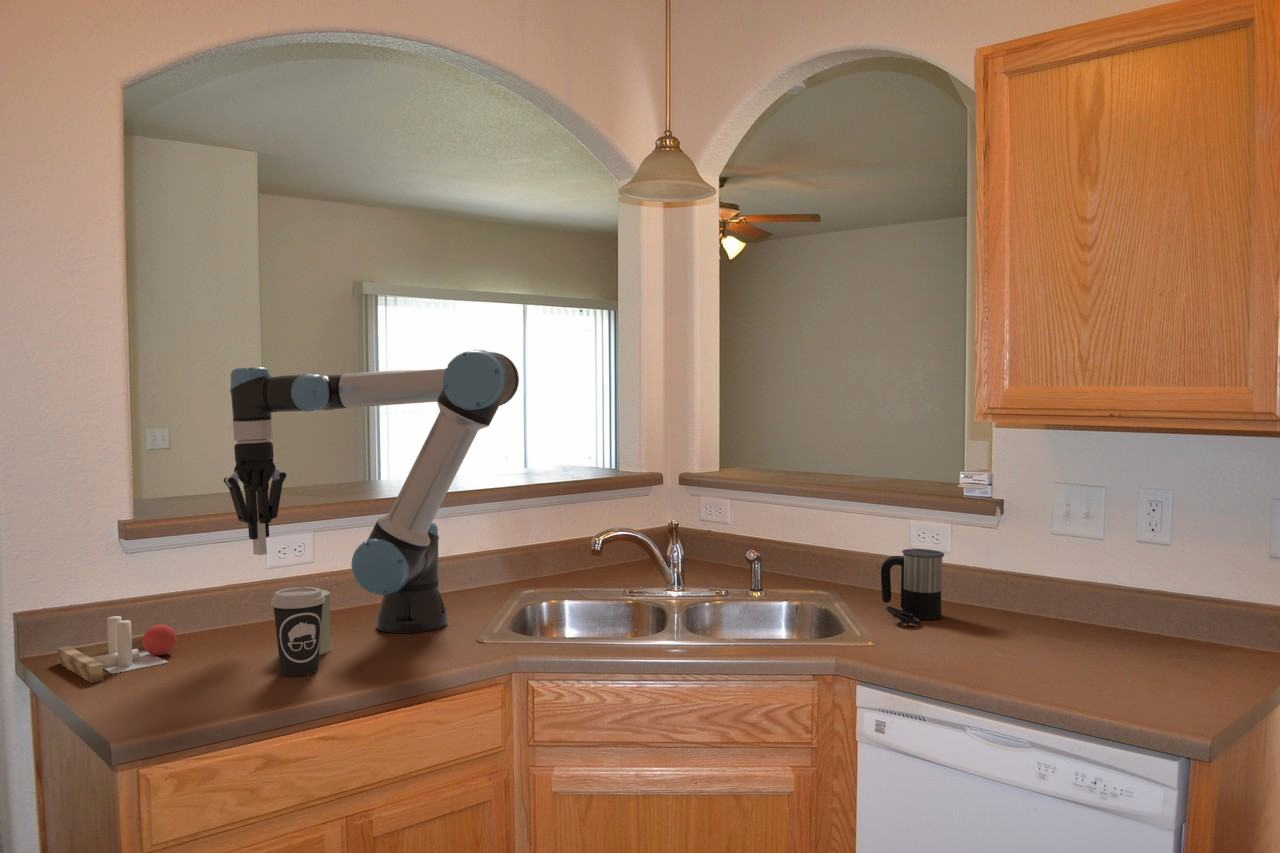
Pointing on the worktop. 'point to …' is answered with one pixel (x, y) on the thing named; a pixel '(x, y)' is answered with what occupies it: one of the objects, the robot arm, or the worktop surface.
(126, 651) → the pin
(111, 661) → the pin front
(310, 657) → the coffee cup
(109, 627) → the pin
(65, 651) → the wooden angle block
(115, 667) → the pin deck mark
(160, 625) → the ball
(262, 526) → the robot arm
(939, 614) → the milk frother
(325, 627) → the can
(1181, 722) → the worktop surface
